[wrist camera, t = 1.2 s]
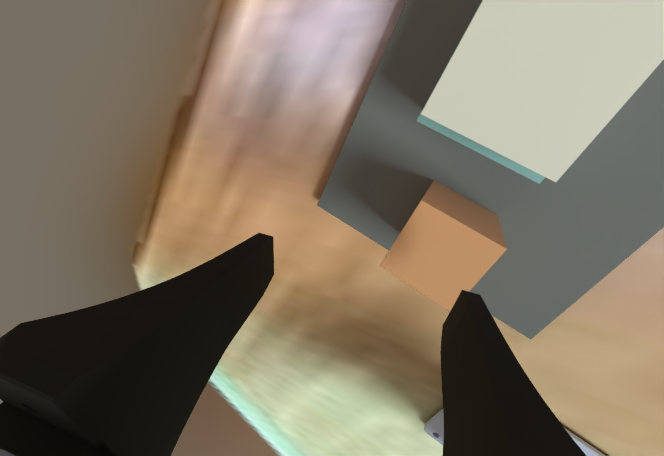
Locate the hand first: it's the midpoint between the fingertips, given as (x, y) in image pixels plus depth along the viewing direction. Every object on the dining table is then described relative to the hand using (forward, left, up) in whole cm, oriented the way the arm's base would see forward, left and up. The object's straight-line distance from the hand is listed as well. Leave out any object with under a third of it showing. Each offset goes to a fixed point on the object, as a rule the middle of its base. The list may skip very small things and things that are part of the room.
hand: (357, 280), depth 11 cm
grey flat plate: (-2, -5, -10) cm, 11 cm away
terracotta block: (-2, -1, -9) cm, 9 cm away
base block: (-1, -9, -9) cm, 13 cm away
